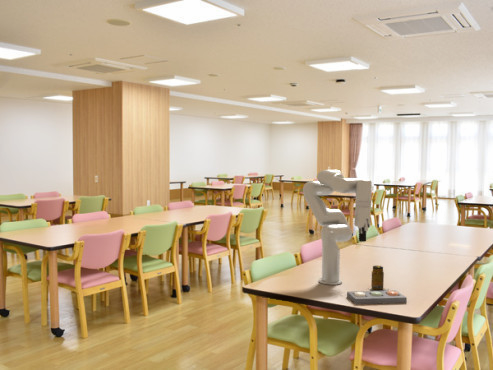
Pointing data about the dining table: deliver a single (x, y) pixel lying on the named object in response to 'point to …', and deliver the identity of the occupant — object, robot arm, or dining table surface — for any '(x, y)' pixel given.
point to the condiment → (378, 279)
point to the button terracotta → (392, 293)
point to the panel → (376, 298)
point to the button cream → (359, 294)
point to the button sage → (376, 293)
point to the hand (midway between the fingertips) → (362, 241)
